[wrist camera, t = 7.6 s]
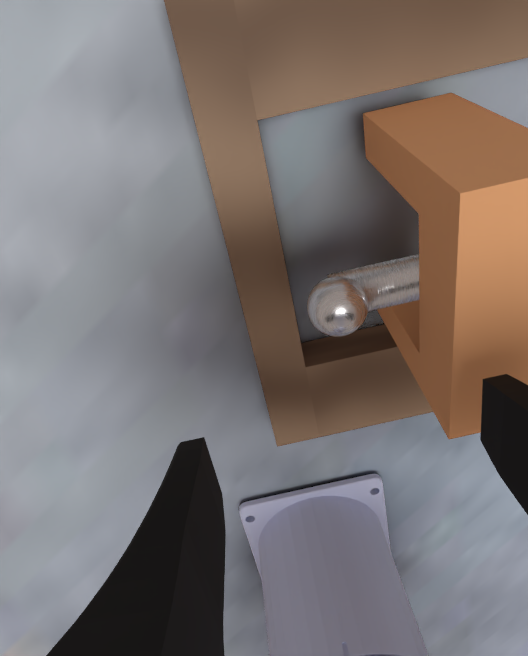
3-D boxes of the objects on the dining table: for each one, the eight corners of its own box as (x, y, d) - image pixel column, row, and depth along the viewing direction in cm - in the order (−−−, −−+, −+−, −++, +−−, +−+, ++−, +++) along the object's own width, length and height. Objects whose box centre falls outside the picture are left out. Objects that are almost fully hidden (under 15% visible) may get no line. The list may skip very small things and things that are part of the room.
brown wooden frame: (706, 321, 25) (744, 342, 23) (272, 419, 25) (277, 446, 23) (837, -161, 16) (915, -188, 14) (166, -3, 16) (161, -10, 14)
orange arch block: (445, 292, 21) (544, 418, 15) (376, 308, 21) (448, 439, 15) (451, 92, 17) (599, 161, 11) (362, 113, 17) (460, 193, 11)
